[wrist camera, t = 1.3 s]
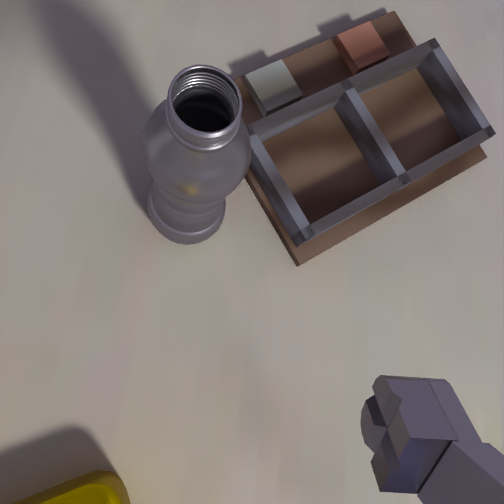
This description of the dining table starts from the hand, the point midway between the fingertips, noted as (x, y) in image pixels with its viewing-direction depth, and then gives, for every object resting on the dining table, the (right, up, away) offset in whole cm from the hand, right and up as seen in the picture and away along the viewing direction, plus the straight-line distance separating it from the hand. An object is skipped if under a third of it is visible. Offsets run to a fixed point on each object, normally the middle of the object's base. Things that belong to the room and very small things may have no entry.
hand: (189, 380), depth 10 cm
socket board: (+11, +15, +36) cm, 41 cm away
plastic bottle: (-5, +6, +32) cm, 33 cm away
